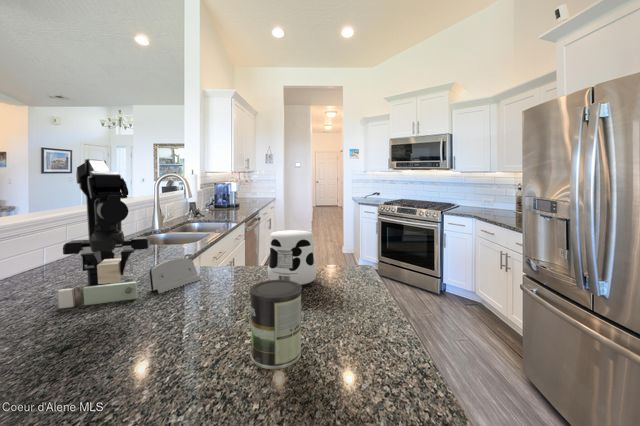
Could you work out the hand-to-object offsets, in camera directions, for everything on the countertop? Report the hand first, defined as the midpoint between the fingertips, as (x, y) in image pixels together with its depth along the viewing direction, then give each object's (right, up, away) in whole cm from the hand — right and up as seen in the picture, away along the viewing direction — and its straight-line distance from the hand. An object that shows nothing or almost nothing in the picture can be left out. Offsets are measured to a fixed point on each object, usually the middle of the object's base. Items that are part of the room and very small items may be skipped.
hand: (111, 275), depth 81 cm
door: (-5, -9, +7) cm, 12 cm away
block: (0, -1, 0) cm, 1 cm away
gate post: (-12, -9, +4) cm, 16 cm away
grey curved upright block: (+6, -8, +23) cm, 25 cm away
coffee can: (+49, -12, -21) cm, 54 cm away
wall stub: (-15, -10, +3) cm, 18 cm away
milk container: (+48, -8, +25) cm, 54 cm away
